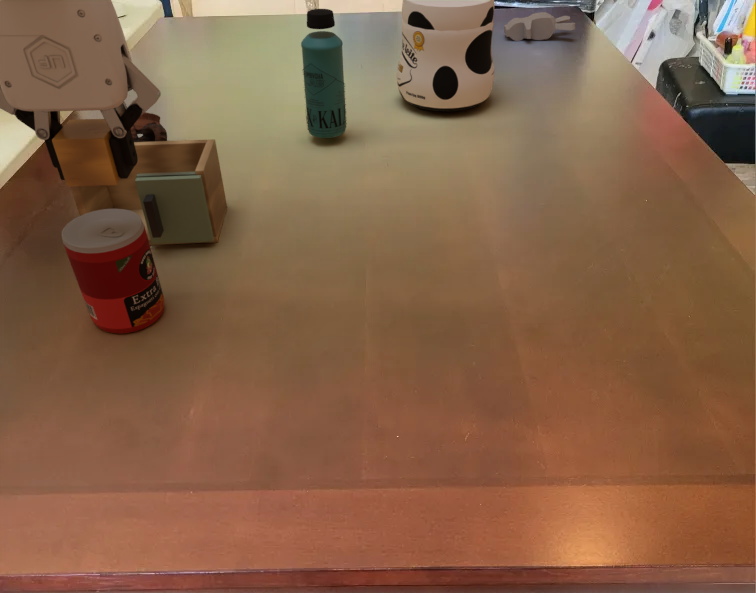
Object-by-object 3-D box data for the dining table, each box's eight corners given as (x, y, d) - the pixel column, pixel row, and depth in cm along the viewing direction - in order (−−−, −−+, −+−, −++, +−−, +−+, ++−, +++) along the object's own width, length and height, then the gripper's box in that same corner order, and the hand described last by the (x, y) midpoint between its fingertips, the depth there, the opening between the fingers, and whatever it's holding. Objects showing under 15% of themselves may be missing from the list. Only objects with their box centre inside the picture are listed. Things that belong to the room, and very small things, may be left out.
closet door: (148, 251, 80) (130, 187, 75) (153, 241, 82) (136, 177, 77) (211, 248, 80) (197, 184, 75) (214, 238, 82) (201, 174, 77)
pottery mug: (94, 167, 102) (91, 113, 101) (144, 171, 110) (141, 121, 109) (146, 163, 96) (143, 105, 95) (195, 167, 104) (192, 114, 103)
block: (66, 186, 60) (51, 139, 57) (83, 164, 64) (69, 119, 61) (117, 185, 60) (104, 138, 57) (130, 163, 64) (118, 118, 61)
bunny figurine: (502, 14, 152) (568, 5, 150) (502, 37, 155) (567, 28, 153) (507, 25, 144) (577, 16, 143) (508, 49, 147) (576, 40, 146)
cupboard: (90, 247, 83) (65, 175, 77) (110, 212, 90) (89, 143, 84) (217, 242, 83) (203, 170, 77) (227, 207, 90) (215, 139, 84)
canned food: (147, 339, 68) (120, 250, 62) (77, 331, 70) (43, 244, 63) (178, 295, 74) (156, 210, 68) (113, 289, 76) (85, 205, 69)
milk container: (377, 100, 121) (375, -4, 110) (443, 78, 130) (447, -21, 119) (444, 128, 110) (449, 15, 100) (511, 101, 119) (522, -5, 108)
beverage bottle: (314, 130, 111) (303, 3, 99) (352, 132, 110) (346, 5, 98) (302, 146, 106) (290, 15, 94) (342, 149, 105) (335, 16, 92)
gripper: (-101, -29, 48) (-9, 194, 59) (132, -33, 48) (180, 189, 59) (-51, -48, 54) (25, 157, 65) (157, -52, 54) (196, 153, 65)
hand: (98, 171), depth 62 cm, fingers closed on block, 4 cm apart
